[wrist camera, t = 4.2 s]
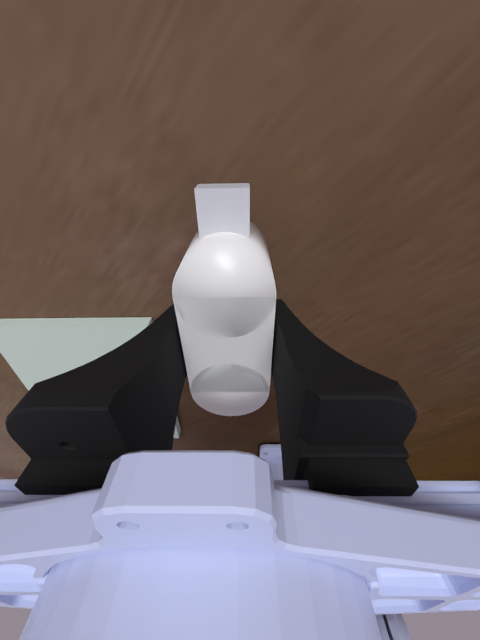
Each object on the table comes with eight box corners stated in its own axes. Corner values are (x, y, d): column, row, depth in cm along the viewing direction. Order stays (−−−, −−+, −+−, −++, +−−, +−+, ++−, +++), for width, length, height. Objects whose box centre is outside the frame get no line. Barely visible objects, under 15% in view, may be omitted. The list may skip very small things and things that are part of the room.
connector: (262, 359, 16) (267, 416, 13) (205, 359, 16) (195, 416, 13) (270, 177, 10) (283, 196, 7) (181, 178, 11) (153, 198, 7)
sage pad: (180, 429, 23) (178, 438, 22) (68, 429, 23) (63, 438, 23) (151, 317, 16) (147, 325, 15) (-9, 318, 16) (-19, 326, 16)
